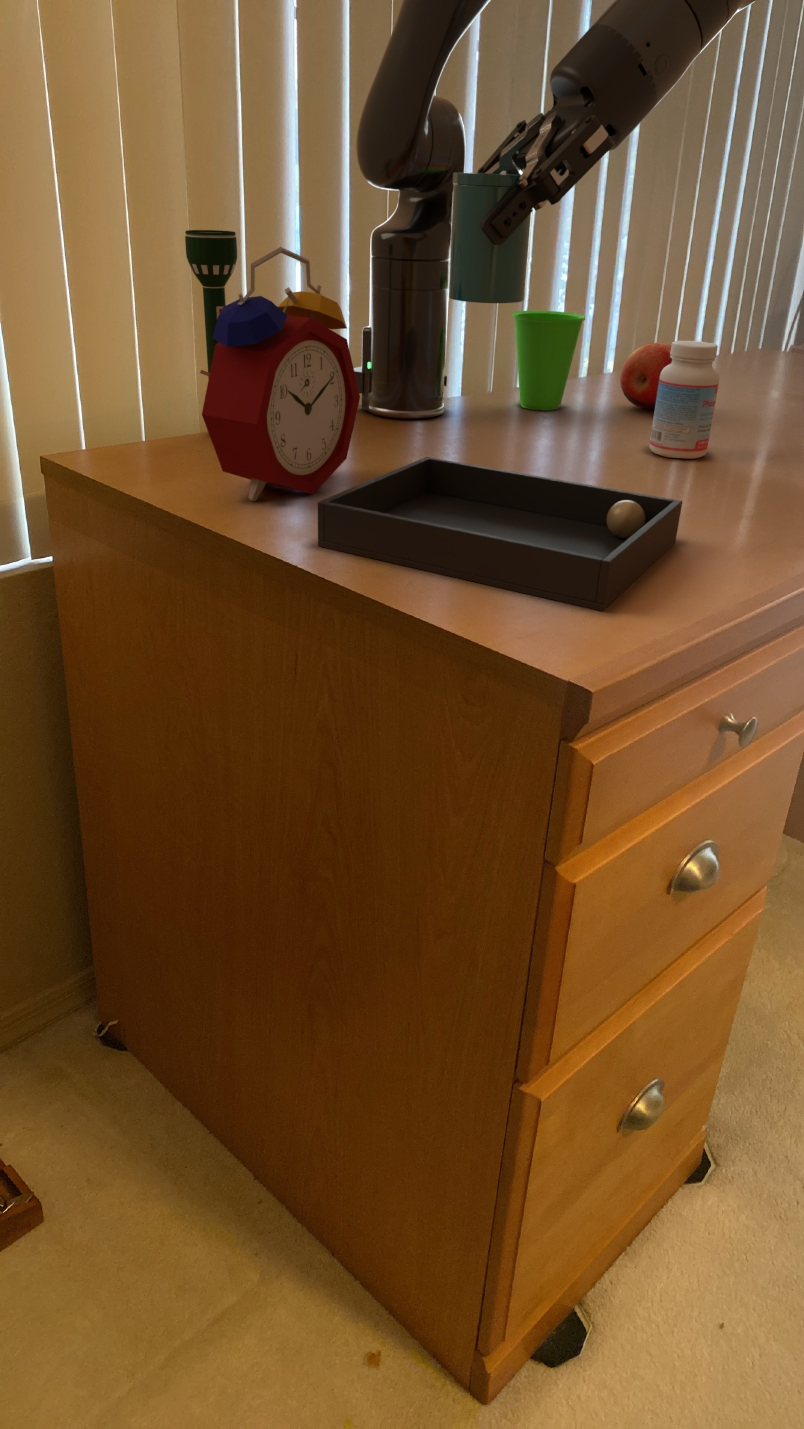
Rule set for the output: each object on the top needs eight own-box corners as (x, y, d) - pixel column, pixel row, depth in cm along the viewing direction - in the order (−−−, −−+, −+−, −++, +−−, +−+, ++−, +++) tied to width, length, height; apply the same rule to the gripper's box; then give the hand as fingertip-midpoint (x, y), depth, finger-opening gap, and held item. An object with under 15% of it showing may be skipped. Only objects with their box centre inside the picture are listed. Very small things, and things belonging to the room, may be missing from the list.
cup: (580, 403, 129) (591, 313, 123) (567, 416, 121) (578, 321, 116) (513, 396, 131) (521, 308, 126) (497, 409, 124) (504, 316, 118)
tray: (317, 546, 76) (317, 501, 74) (424, 495, 89) (426, 456, 87) (602, 611, 66) (609, 562, 64) (675, 543, 79) (682, 500, 77)
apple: (694, 411, 127) (705, 345, 123) (650, 417, 122) (660, 349, 118) (648, 400, 132) (657, 337, 128) (604, 405, 128) (612, 340, 124)
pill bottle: (707, 462, 103) (728, 349, 98) (648, 457, 104) (665, 345, 99) (704, 448, 108) (723, 341, 103) (647, 444, 109) (664, 337, 104)
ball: (654, 504, 78) (619, 490, 78) (646, 513, 75) (610, 499, 76) (640, 538, 79) (606, 524, 80) (632, 548, 77) (597, 534, 78)
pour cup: (433, 298, 79) (439, 171, 75) (469, 291, 84) (476, 172, 80) (503, 305, 77) (513, 174, 72) (536, 298, 82) (547, 175, 77)
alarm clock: (262, 514, 82) (252, 252, 73) (186, 496, 86) (166, 245, 77) (361, 477, 94) (363, 245, 84) (289, 462, 97) (283, 240, 88)
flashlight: (214, 442, 104) (201, 233, 94) (189, 433, 107) (174, 229, 98) (254, 435, 107) (246, 232, 97) (229, 427, 110) (218, 229, 101)
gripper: (556, 31, 79) (413, 192, 82) (647, 8, 67) (476, 197, 70) (606, 111, 83) (468, 262, 86) (700, 103, 71) (536, 278, 74)
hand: (472, 232), depth 78 cm, fingers closed on pour cup, 6 cm apart
